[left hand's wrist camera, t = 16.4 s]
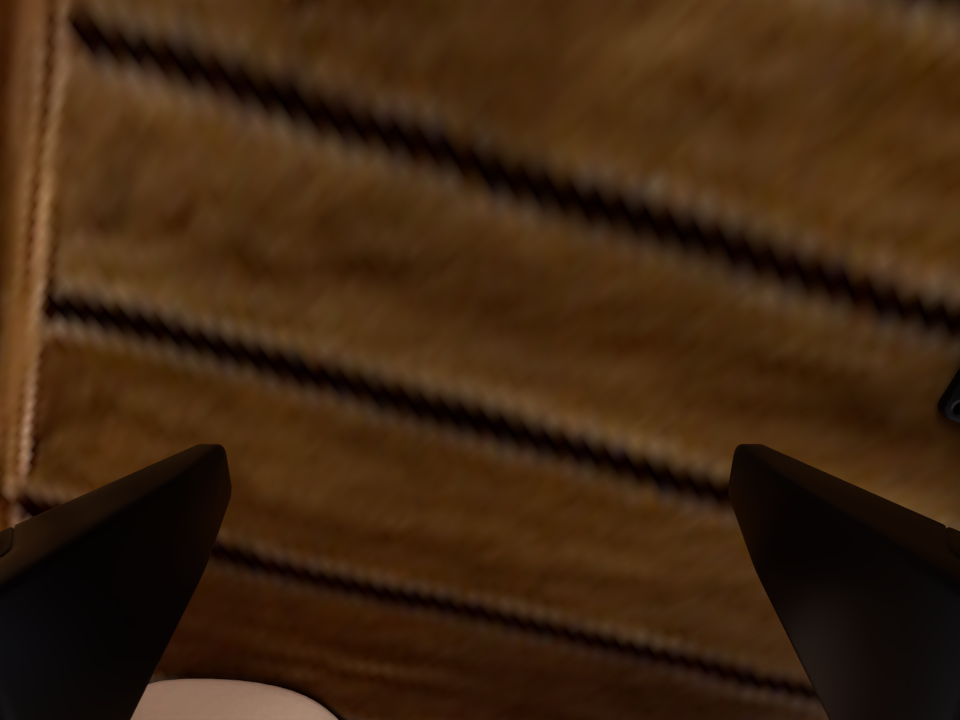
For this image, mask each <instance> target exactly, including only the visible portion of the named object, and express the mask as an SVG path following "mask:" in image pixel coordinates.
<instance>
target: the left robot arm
mask: <svg viewBox="0 0 960 720" xmlns="http://www.w3.org/2000/svg"><path fill="white" fill-rule="evenodd" d="M959 402H960V369H959V370H958V372H957V374H956V375H955V377H954V378H953V380H952V382H951V383H950V385H949V386H948V388H947V390H946V391H945V393H944V394H943V396H942V397H941V399H940V401H939V404H938V410H939V411H940V413H941V414H943V415H944V416H946V417H947V418H949V419H951V420H952V421H956V422H959V423H960V404H959V406H958V407H957V408H955V409H953V407H954V406H955V405H956V404H957V403H959ZM230 497H231V480H230V474H229V468H228V462H227V456H226V451H225V449H224V447H223V446H222V445H219V444H199V445H196V446H193V447H191V448H189V449H187V450H184V451H182V452H180V453H178V454H175V455H173V456H171V457H169V458H166V459H164V460H162V461H159V462H157V463H155V464H153V465H150V466H148V467H146V468H144V469H141V470H139V471H137V472H134V473H132V474H130V475H128V476H125V477H123V478H121V479H119V480H116V481H114V482H112V483H110V484H107V485H105V486H103V487H100V488H98V489H96V490H94V491H91V492H89V493H87V494H85V495H82V496H80V497H78V498H76V499H73V500H71V501H69V502H66V503H64V504H62V505H60V506H57V507H55V508H53V509H51V510H48V511H46V512H44V513H41V514H39V515H37V516H35V517H32V518H30V519H28V520H26V521H23V522H21V523H19V524H17V525H15V527H14V528H12V527H10V528H7V529H5V530H3V531H0V720H131V718H132V716H133V714H134V712H135V710H136V708H137V706H138V704H139V702H140V700H141V698H142V696H143V694H144V692H145V690H146V688H147V686H148V684H149V682H150V680H151V678H152V676H153V674H154V672H155V670H156V668H157V666H158V664H159V662H160V660H161V658H162V656H163V654H164V651H165V649H166V647H167V645H168V643H169V641H170V639H171V637H172V635H173V633H174V631H175V629H176V627H177V625H178V623H179V621H180V619H181V617H182V615H183V613H184V611H185V609H186V607H187V605H188V603H189V601H190V599H191V597H192V595H193V593H194V591H195V589H196V587H197V585H198V583H199V581H200V579H201V577H202V574H203V572H204V570H205V567H206V565H207V562H208V560H209V557H210V554H211V551H212V549H213V546H214V543H215V540H216V537H217V535H218V532H219V529H220V526H221V523H222V520H223V518H224V515H225V512H226V509H227V506H228V503H229V501H230ZM729 497H730V501H731V503H732V506H733V509H734V512H735V515H736V518H737V520H738V523H739V526H740V529H741V532H742V535H743V537H744V540H745V543H746V546H747V549H748V551H749V554H750V557H751V560H752V562H753V565H754V567H755V570H756V572H757V574H758V577H759V579H760V581H761V583H762V585H763V587H764V589H765V591H766V593H767V595H768V597H769V599H770V601H771V603H772V605H773V607H774V609H775V611H776V613H777V615H778V617H779V619H780V621H781V623H782V625H783V627H784V629H785V631H786V633H787V635H788V637H789V639H790V641H791V643H792V645H793V647H794V649H795V652H796V654H797V656H798V658H799V660H800V662H801V664H802V666H803V668H804V670H805V672H806V674H807V676H808V678H809V680H810V682H811V684H812V686H813V688H814V690H815V692H816V694H817V696H818V698H819V700H820V702H821V704H822V706H823V708H824V710H825V712H826V714H827V716H828V718H829V720H960V531H957V530H955V529H953V528H950V527H948V528H946V527H945V525H943V524H941V523H939V522H937V521H934V520H932V519H930V518H928V517H925V516H923V515H921V514H919V513H916V512H914V511H912V510H909V509H907V508H905V507H903V506H900V505H898V504H896V503H894V502H891V501H889V500H887V499H884V498H882V497H880V496H878V495H875V494H873V493H871V492H869V491H866V490H864V489H862V488H860V487H857V486H855V485H853V484H850V483H848V482H846V481H844V480H841V479H839V478H837V477H835V476H832V475H830V474H828V473H826V472H823V471H821V470H819V469H816V468H814V467H812V466H810V465H807V464H805V463H803V462H801V461H798V460H796V459H794V458H791V457H789V456H787V455H785V454H782V453H780V452H778V451H776V450H773V449H771V448H769V447H767V446H764V445H761V444H741V445H738V446H737V447H736V449H735V451H734V456H733V462H732V468H731V474H730V480H729Z"/></svg>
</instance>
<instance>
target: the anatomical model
mask: <svg viewBox="0 0 960 720" xmlns="http://www.w3.org/2000/svg"><path fill="white" fill-rule="evenodd" d="M131 720H338V719H337V718H336V717H335V716H334V715H333V714H332V713H330V712H329V711H328V710H327V709H326V708H325V707H323V706H322V705H320V704H319V703H317V702H316V701H314V700H312V699H310V698H308V697H307V696H304V695H302V694H299V693H297V692H294V691H292V690H288V689H285V688H281V687H278V686H273V685H267V684H262V683H257V682H248V681H240V680H225V679H177V680H163V681H159V682H154V683H151V684H148V686H147V688H146V690H145V692H144V694H143V696H142V698H141V700H140V702H139V704H138V706H137V708H136V710H135V712H134V714H133V716H132V718H131Z"/></svg>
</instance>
